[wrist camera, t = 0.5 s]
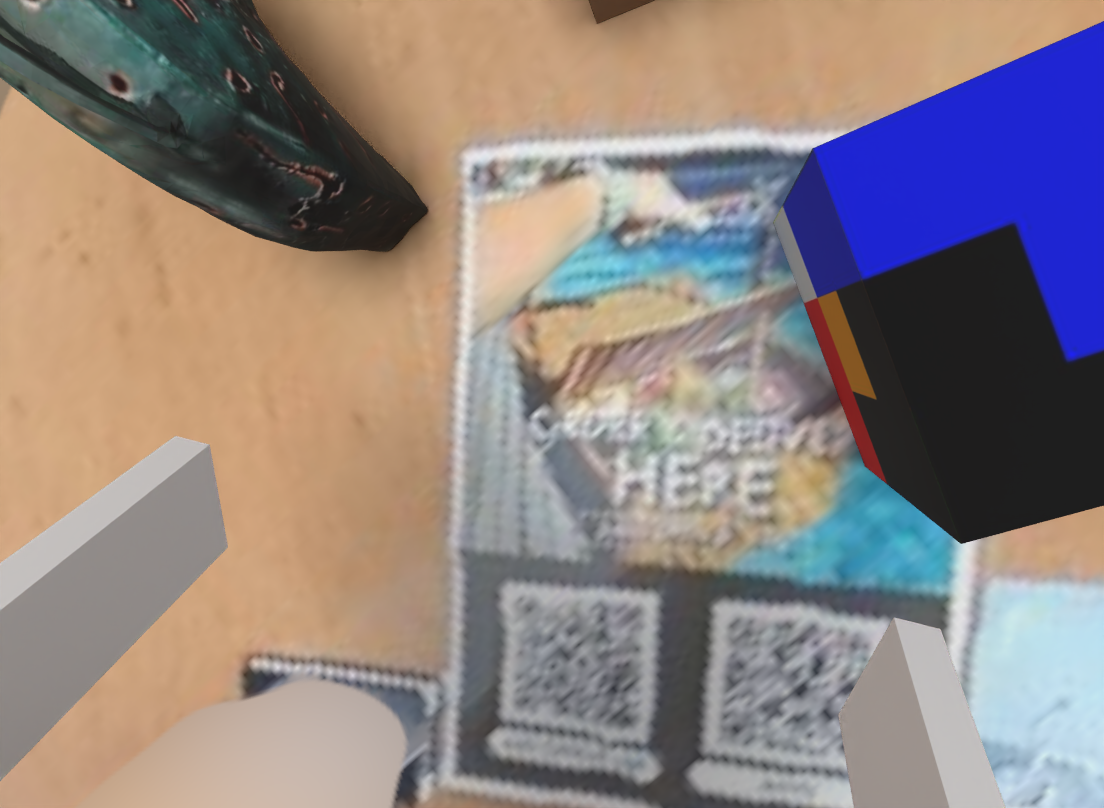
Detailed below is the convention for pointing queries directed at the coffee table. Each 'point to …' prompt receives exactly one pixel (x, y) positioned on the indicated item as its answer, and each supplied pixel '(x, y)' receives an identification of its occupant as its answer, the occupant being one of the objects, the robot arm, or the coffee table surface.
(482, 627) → the coffee table surface
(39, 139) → the coffee table surface
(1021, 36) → the coffee table surface
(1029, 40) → the coffee table surface
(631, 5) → the walnut board
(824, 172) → the puzzle toy
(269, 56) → the ceramic cat
